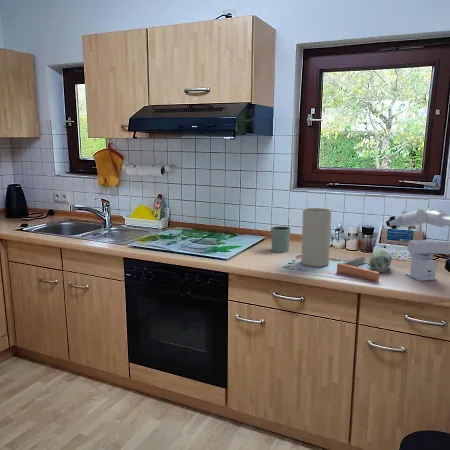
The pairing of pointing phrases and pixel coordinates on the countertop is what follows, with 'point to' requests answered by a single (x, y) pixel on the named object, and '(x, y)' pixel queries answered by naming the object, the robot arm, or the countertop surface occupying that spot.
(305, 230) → the cylinder vase
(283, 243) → the green cup
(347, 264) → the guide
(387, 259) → the grey-green rounded piece
